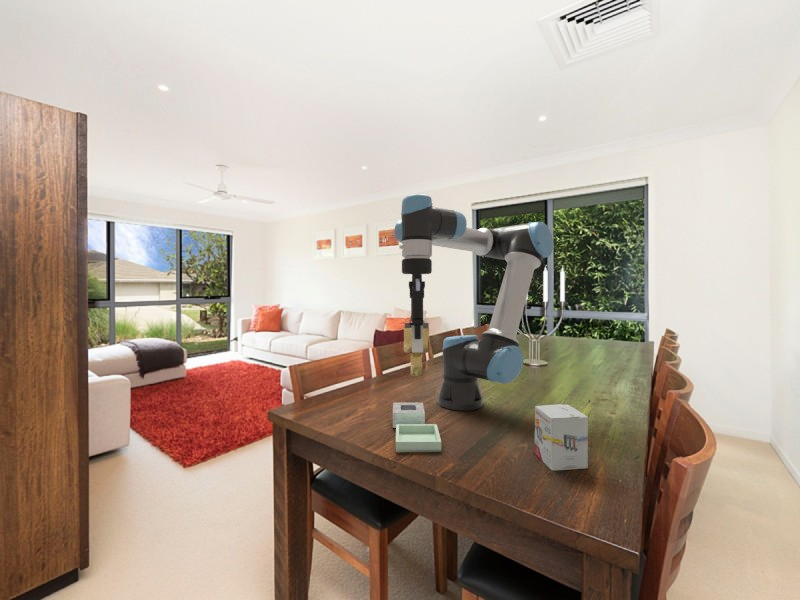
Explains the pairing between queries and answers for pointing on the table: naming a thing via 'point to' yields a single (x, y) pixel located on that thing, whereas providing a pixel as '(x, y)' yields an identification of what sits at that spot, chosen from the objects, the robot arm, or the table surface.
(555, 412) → the ink box
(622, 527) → the table surface
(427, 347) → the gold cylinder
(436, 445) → the tray
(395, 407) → the silver square block
